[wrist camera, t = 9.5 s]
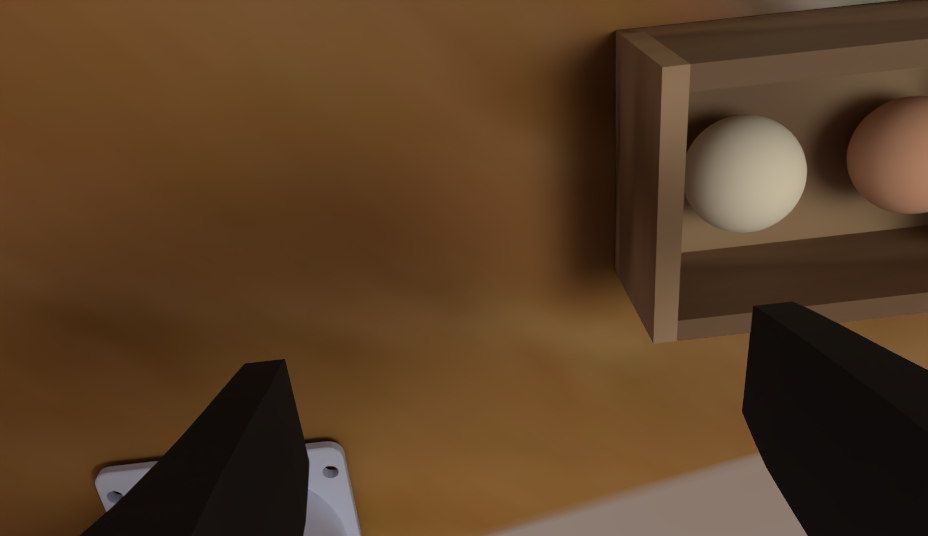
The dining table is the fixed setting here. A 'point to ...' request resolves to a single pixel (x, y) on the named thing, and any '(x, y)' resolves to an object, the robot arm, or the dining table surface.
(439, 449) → the dining table surface
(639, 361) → the dining table surface
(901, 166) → the ball
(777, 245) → the box
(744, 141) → the ball
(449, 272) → the dining table surface
